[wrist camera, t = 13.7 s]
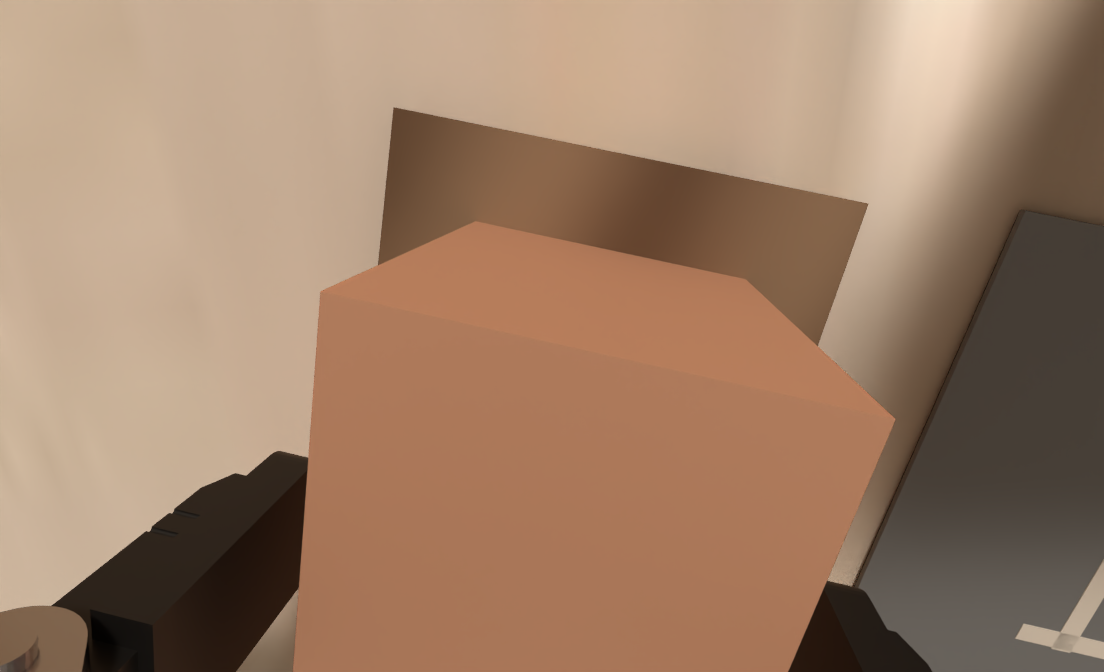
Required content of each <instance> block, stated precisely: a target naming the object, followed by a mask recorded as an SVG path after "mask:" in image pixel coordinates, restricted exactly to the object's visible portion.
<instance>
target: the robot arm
mask: <svg viewBox="0 0 1104 672" xmlns="http://www.w3.org/2000/svg"><path fill="white" fill-rule="evenodd" d="M307 471H308V458H307V457H303V456H299V455H294V454H290V453H286V452H282V451H277V452H274V453H273V454H271V455H270V456H269V457H268V458H267V459H265V460H264V461H263V462H262V463H261V464H260V465H258V466H257V467H256V468H255V469H254V470H253V471H251V472H250V473H249V474H248V475H247V476H244V475H240V474H236V473H235V474H233V475H230V476H228V477H226V478H223V479H221V480H219V481H216V482H214V483H211V484H209V485H207V486H204V487H202V488H200V489H199V490H198V491H196V492H195V493H194V494H193V495H191V496H190V497H189V498H188V499H186V500H185V501H184V502H183V503H181V504H180V505H179V506H177V507H176V508H175V509H174V512H173V513H172V514H171V513H169V514H167V515H166V516H165V517H164V518H162V519H161V520H160V521H158V522H157V523H156V524H155V525H153V526H152V529H151V531H150V532H147V531H146V532H145V533H143V534H142V535H141V536H139V537H138V538H137V539H136V540H134V541H133V542H132V543H131V544H129V545H128V546H127V547H126V548H124V549H123V550H122V551H120V552H119V553H118V554H117V555H115V556H114V557H113V558H112V559H110V560H109V561H108V562H107V563H105V564H104V565H103V566H101V567H100V568H99V569H98V570H96V571H95V572H94V573H93V574H91V575H90V576H89V577H88V578H86V579H85V580H84V581H82V582H81V583H80V584H79V585H77V586H76V587H75V588H74V589H72V590H71V591H70V592H68V593H67V594H66V595H65V596H63V597H62V598H61V599H60V600H58V601H57V602H56V603H55V604H53V605H52V606H30V607H23V608H17V609H12V610H8V611H4V612H0V672H236V671H237V669H238V668H239V667H240V665H241V664H242V663H243V661H244V660H245V659H246V657H247V656H248V655H249V653H250V652H251V651H252V649H253V648H254V647H255V645H256V644H257V643H258V641H259V640H260V639H261V637H262V636H263V635H264V633H265V632H266V631H267V629H268V628H269V627H270V625H271V624H272V623H273V621H274V620H275V619H276V617H277V616H278V615H279V613H280V612H281V611H282V609H283V608H284V607H285V605H286V604H287V603H288V601H289V600H290V599H291V597H292V596H293V594H294V593H295V592H296V590H297V589H298V588H299V580H300V567H301V553H302V539H303V526H304V512H305V498H306V484H307ZM788 672H932V670H931V669H930V667H929V665H928V664H927V663H926V662H925V661H924V660H923V659H922V658H921V657H920V655H919V654H918V653H917V652H916V651H915V650H914V649H913V648H912V647H911V646H910V645H909V644H908V643H907V642H906V641H905V640H904V639H903V638H902V637H901V636H900V635H899V634H898V633H897V632H895V631H891V630H887V628H886V626H885V624H884V623H883V621H882V619H881V617H880V615H879V614H878V612H877V610H876V608H875V607H874V605H873V603H872V601H871V600H870V598H869V596H868V595H867V593H866V592H865V591H864V590H862V589H860V588H856V587H851V586H847V585H843V584H839V583H834V582H830V581H827V582H826V584H825V587H824V589H823V591H822V594H821V596H820V598H819V601H818V603H817V605H816V608H815V610H814V612H813V615H812V617H811V619H810V622H809V624H808V626H807V629H806V631H805V633H804V636H803V638H802V640H801V643H800V645H799V647H798V650H797V652H796V654H795V657H794V659H793V662H792V664H791V666H790V669H789V671H788Z"/></svg>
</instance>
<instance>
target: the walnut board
mask: <svg viewBox="0 0 1104 672" xmlns="http://www.w3.org/2000/svg"><path fill="white" fill-rule="evenodd" d="M867 206H868V204H867V203H862V202H857V201H852V200H847V199H842V198H838V197H833V196H828V195H823V194H818V193H813V192H808V191H803V190H798V189H793V188H788V187H783V186H778V185H773V184H769V183H764V182H759V181H754V180H749V179H744V178H739V177H734V176H729V175H724V174H719V173H714V172H709V171H704V170H699V169H695V168H690V167H685V166H680V165H675V164H670V163H665V162H660V161H655V160H650V159H645V158H640V157H635V156H630V155H626V154H621V153H616V152H611V151H606V150H601V149H596V148H591V147H586V146H581V145H576V144H571V143H566V142H561V141H556V140H552V139H547V138H542V137H537V136H532V135H527V134H522V133H517V132H512V131H507V130H502V129H497V128H492V127H487V126H483V125H478V124H473V123H468V122H463V121H458V120H453V119H448V118H443V117H438V116H433V115H428V114H423V113H418V112H414V111H409V110H404V109H399V108H394V110H393V120H392V130H391V140H390V150H389V160H388V170H387V180H386V190H385V201H384V211H383V221H382V231H381V241H380V251H379V261H378V265H380V264H382V263H384V262H387V261H389V260H391V259H393V258H395V257H398V256H400V255H402V254H404V253H406V252H409V251H411V250H413V249H415V248H418V247H420V246H422V245H424V244H426V243H429V242H431V241H433V240H435V239H437V238H440V237H442V236H444V235H446V234H448V233H451V232H453V231H455V230H457V229H460V228H462V227H464V226H466V225H468V224H471V223H473V222H475V221H477V222H482V223H486V224H491V225H496V226H500V227H505V228H509V229H514V230H519V231H523V232H528V233H533V234H537V235H542V236H547V237H551V238H556V239H561V240H565V241H570V242H575V243H579V244H584V245H589V246H593V247H598V248H603V249H607V250H612V251H617V252H621V253H626V254H630V255H635V256H640V257H644V258H649V259H654V260H658V261H663V262H668V263H672V264H677V265H682V266H686V267H691V268H696V269H700V270H705V271H710V272H714V273H719V274H724V275H728V276H733V277H738V278H742V279H746V280H747V281H748V282H749V283H750V284H751V285H752V286H754V287H755V288H756V289H757V290H758V291H759V292H760V293H761V294H762V295H763V296H764V297H765V298H766V299H767V300H769V301H770V302H771V303H772V304H773V305H774V306H775V307H776V308H777V309H778V310H779V311H780V312H781V313H782V314H784V315H785V316H786V317H787V318H788V319H789V320H790V321H791V322H792V323H793V324H794V325H795V326H796V327H797V328H799V329H800V330H801V331H802V332H803V333H804V334H805V335H806V336H807V337H808V338H809V339H810V340H811V341H812V342H813V343H815V344H816V345H817V346H818V343H819V340H820V338H821V335H822V332H823V329H824V326H825V324H826V321H827V318H828V315H829V312H830V310H831V307H832V304H833V301H834V299H835V296H836V293H837V290H838V287H839V285H840V282H841V279H842V276H843V273H844V271H845V268H846V265H847V262H848V259H849V257H850V254H851V251H852V248H853V245H854V243H855V240H856V237H857V234H858V231H859V229H860V226H861V223H862V220H863V218H864V215H865V212H866V209H867Z"/></svg>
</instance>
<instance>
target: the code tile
mask: <svg viewBox="0 0 1104 672" xmlns="http://www.w3.org/2000/svg"><path fill="white" fill-rule="evenodd" d="M855 587H856V588H860V589H862V590H864V591H865V592H866V593H867V595H868V596H869V598H870V600H871V601H872V603H873V605H874V607H875V608H876V610H877V612H878V614H879V615H880V617H881V619H882V621H883V623H884V624H885V626H886V628H887V630H891V631H895V632H897V633H898V634H899V635H900V636H901V637H902V638H903V639H904V640H905V641H906V642H907V643H908V644H909V645H910V646H911V647H912V648H913V649H914V650H915V651H916V652H917V653H918V654H919V655H920V657H921V658H922V659H923V660H924V661H925V662H926V663H927V664H928V665H929V667H930V669H931V670H932V672H1104V226H1100V225H1095V224H1090V223H1085V222H1080V221H1075V220H1070V219H1065V218H1060V217H1055V216H1050V215H1045V214H1040V213H1035V212H1030V211H1025V210H1020V212H1019V214H1018V217H1017V219H1016V221H1015V224H1014V226H1013V228H1012V230H1011V233H1010V235H1009V237H1008V239H1007V242H1006V244H1005V246H1004V249H1003V251H1002V253H1001V255H1000V258H999V260H998V262H997V264H996V267H995V269H994V271H993V273H992V276H991V278H990V280H989V283H988V285H987V287H986V289H985V292H984V294H983V296H982V298H981V301H980V303H979V305H978V308H977V310H976V312H975V314H974V317H973V319H972V321H971V323H970V326H969V328H968V330H967V332H966V335H965V337H964V339H963V342H962V344H961V346H960V348H959V351H958V353H957V355H956V357H955V360H954V362H953V364H952V366H951V369H950V371H949V373H948V376H947V378H946V380H945V382H944V385H943V387H942V389H941V391H940V394H939V396H938V398H937V401H936V403H935V405H934V407H933V410H932V412H931V414H930V416H929V419H928V421H927V423H926V425H925V428H924V430H923V432H922V435H921V437H920V439H919V441H918V444H917V446H916V448H915V450H914V453H913V455H912V457H911V460H910V462H909V464H908V466H907V469H906V471H905V473H904V475H903V478H902V480H901V482H900V484H899V487H898V489H897V491H896V494H895V496H894V498H893V500H892V503H891V505H890V507H889V509H888V512H887V514H886V516H885V518H884V521H883V523H882V525H881V528H880V530H879V532H878V534H877V537H876V539H875V541H874V543H873V546H872V548H871V550H870V553H869V555H868V557H867V559H866V562H865V564H864V566H863V568H862V571H861V573H860V575H859V577H858V580H857V582H856V584H855Z"/></svg>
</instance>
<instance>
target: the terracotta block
mask: <svg viewBox="0 0 1104 672" xmlns="http://www.w3.org/2000/svg"><path fill="white" fill-rule="evenodd" d="M895 420H896V419H895V418H894V417H893V416H892V415H891V414H890V413H888V412H887V411H886V410H885V409H884V408H883V407H882V406H881V405H880V404H879V403H878V402H877V401H876V400H875V399H873V398H872V397H871V396H870V395H869V394H868V393H867V392H866V391H865V390H864V389H863V388H862V387H861V386H860V385H858V384H857V383H856V382H855V381H854V380H853V379H852V378H851V377H850V376H849V375H848V374H847V373H846V372H845V371H843V370H842V369H841V368H840V367H839V366H838V365H837V364H836V363H835V362H834V361H833V360H832V359H831V358H830V357H828V356H827V355H826V354H825V353H824V352H823V351H822V350H821V349H820V348H819V347H818V346H817V345H816V344H815V343H813V342H812V341H811V340H810V339H809V338H808V337H807V336H806V335H805V334H804V333H803V332H802V331H801V330H800V329H799V328H797V327H796V326H795V325H794V324H793V323H792V322H791V321H790V320H789V319H788V318H787V317H786V316H785V315H784V314H782V313H781V312H780V311H779V310H778V309H777V308H776V307H775V306H774V305H773V304H772V303H771V302H770V301H769V300H767V299H766V298H765V297H764V296H763V295H762V294H761V293H760V292H759V291H758V290H757V289H756V288H755V287H754V286H752V285H751V284H750V283H749V282H748V281H747V280H746V279H742V278H738V277H733V276H728V275H724V274H719V273H714V272H710V271H705V270H700V269H696V268H691V267H686V266H682V265H677V264H672V263H668V262H663V261H658V260H654V259H649V258H644V257H640V256H635V255H630V254H626V253H621V252H617V251H612V250H607V249H603V248H598V247H593V246H589V245H584V244H579V243H575V242H570V241H565V240H561V239H556V238H551V237H547V236H542V235H537V234H533V233H528V232H523V231H519V230H514V229H509V228H505V227H500V226H496V225H491V224H486V223H482V222H477V221H475V222H473V223H471V224H468V225H466V226H464V227H462V228H460V229H457V230H455V231H453V232H451V233H448V234H446V235H444V236H442V237H440V238H437V239H435V240H433V241H431V242H429V243H426V244H424V245H422V246H420V247H418V248H415V249H413V250H411V251H409V252H406V253H404V254H402V255H400V256H398V257H395V258H393V259H391V260H389V261H387V262H384V263H382V264H380V265H378V266H376V267H373V268H371V269H369V270H367V271H364V272H362V273H360V274H358V275H356V276H353V277H351V278H349V279H347V280H345V281H342V282H340V283H338V284H336V285H334V286H331V287H329V288H327V289H325V290H323V291H321V292H320V306H319V320H318V333H317V347H316V361H315V375H314V388H313V402H312V416H311V429H310V443H309V457H308V471H307V484H306V498H305V512H304V526H303V539H302V553H301V567H300V580H299V594H298V608H297V622H296V635H295V649H294V663H293V672H788V671H789V669H790V666H791V664H792V662H793V659H794V657H795V654H796V652H797V650H798V647H799V645H800V643H801V640H802V638H803V636H804V633H805V631H806V629H807V626H808V624H809V622H810V619H811V617H812V615H813V612H814V610H815V608H816V605H817V603H818V601H819V598H820V596H821V594H822V591H823V589H824V587H825V584H826V582H827V580H828V577H829V575H830V572H831V570H832V568H833V565H834V563H835V561H836V558H837V556H838V554H839V551H840V549H841V547H842V544H843V542H844V540H845V537H846V535H847V533H848V530H849V528H850V526H851V523H852V521H853V519H854V516H855V514H856V512H857V509H858V507H859V505H860V502H861V500H862V497H863V495H864V493H865V490H866V488H867V486H868V483H869V481H870V479H871V476H872V474H873V472H874V469H875V467H876V465H877V462H878V460H879V458H880V455H881V453H882V451H883V448H884V446H885V444H886V441H887V439H888V437H889V434H890V432H891V430H892V427H893V425H894V423H895Z"/></svg>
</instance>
